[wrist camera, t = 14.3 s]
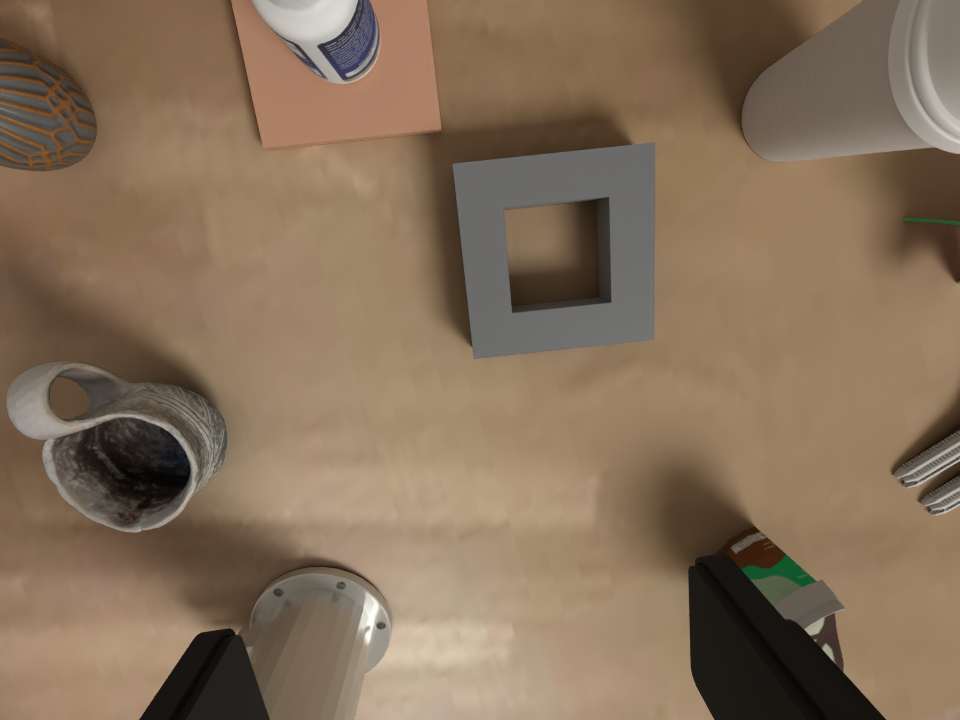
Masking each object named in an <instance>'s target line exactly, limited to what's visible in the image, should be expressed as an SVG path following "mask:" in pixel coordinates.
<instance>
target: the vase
mask: <svg viewBox="0 0 960 720" xmlns="http://www.w3.org/2000/svg"><path fill="white" fill-rule="evenodd" d="M96 133H97V125H96V119H95V115H94V112H93V109H92V107H91V105H90V102H89V100H88V99H87V97H86V95H85V94H84V92H83V91H82V90H81V89H80V87H79V86H78V85H77V84H76V83H75V82H74V81H73V80H72V79H71V78H70V77H69V76H68V75H67V74H66V73H65V72H63V71H62V70H61V69H60V68H59V67H57V66H56V65H55V64H53V63H52V62H50V61H49V60H47V59H46V58H44V57H43V56H41V55H39V54H37V53H35V52H33V51H31V50H29V49H27V48H25V47H23V46H21V45H18V44H16V43H13V42H11V41H8V40H5V39H2V38H0V166H4V167H8V168H14V169H20V170H29V171H50V170H57V169H62V168H65V167H69V166H71V165H73V164H75V163H77V162H79V161H81V160H82V159H83V158H84V157H86V155H87V154H88V153H89V152H90V150H91V148H92V147H93V145H94V142H95V139H96Z"/></svg>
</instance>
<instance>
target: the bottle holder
mask: <svg viewBox="0 0 960 720" xmlns="http://www.w3.org/2000/svg"><path fill="white" fill-rule="evenodd" d="M453 173H454V182H455V191H456V200H457V209H458V219H459V228H460V237H461V246H462V255H463V264H464V273H465V283H466V292H467V301H468V310H469V319H470V328H471V337H472V346H473V356H474V359H478V358H487V357H496V356H506V355H515V354H524V353H534V352H543V351H553V350H562V349H571V348H581V347H590V346H599V345H609V344H618V343H628V342H637V341H646V340H654V232H655V142H654V143H644V144H635V145H625V146H616V147H606V148H597V149H587V150H578V151H568V152H558V153H549V154H539V155H530V156H520V157H511V158H501V159H492V160H482V161H473V162H463V163H454V164H453ZM594 200H596V204H597V239H598V275H599V297H593V298H584V299H574V300H565V301H556V302H546V303H537V304H527V305H518V306H511V295H510V282H509V270H508V258H507V246H506V234H505V222H504V210H509V209H518V208H528V207H537V206H547V205H556V204H566V203H575V202H585V201H594Z"/></svg>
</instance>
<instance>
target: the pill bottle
mask: <svg viewBox="0 0 960 720" xmlns="http://www.w3.org/2000/svg"><path fill="white" fill-rule="evenodd" d="M252 3H253V4H254V6H255V8H256V10H257V11H258V13H259V14H260V16H261V17H262V18H263V20H264V21H265V22H266V23H267V25H268V26H269V27H270V28H271V29H272V30H273V31H274V32H275V33H276V34H277V35H278V36H279V38H280V39H281V40H282V41H283V42H284V43H285V44H286V45H287V46H288V47H289V48H290V49H291V50H292V52H293V53H294V54H295V55H296V56H297V57H298V58H299V59H300V60H301V61H302V62H303V63H304V64H305V65H306V66H307V67H308V68H309V69H310V70H311V71H312V72H313V73H314V74H315V75H317V76H318V77H320V78H321V79H323V80H325V81H328V82H331V83H335V84H348V83H352V82H355V81H358V80H360V79H361V78H363V77H364V76H366V75H367V74H368V73H369V72H370V71H371V69H372V68H373V66H374V65H375V63H376V61H377V59H378V56H379V52H380V46H381V34H380V28H379V24H378V20H377V17H376V14H375V12H374V10H373V7H372V5H371V2H370V0H252Z"/></svg>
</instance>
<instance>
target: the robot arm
mask: <svg viewBox="0 0 960 720" xmlns="http://www.w3.org/2000/svg"><path fill="white" fill-rule="evenodd" d="M688 574H689V615H690V656H691V671H692V675H693V678H694V681H695V684H696V686H697V688H698V690H699V692H700V694H701V696H702V698H703V700H704V701H705V703H706V705H707V707H708V709H709V711H710V712H711V714H712V716H713V718H714V720H886V719H885V718H884V717H883V716H882V715H881V714H880V712H879V711H878V710H877V709H876V708H875V707H874V706H873V705H872V704H871V702H870V701H869V700H868V699H867V698H866V697H865V696H864V695H863V694H862V693H861V691H860V690H859V689H858V688H857V687H856V686H855V685H854V684H853V683H852V681H851V680H850V679H849V678H848V677H847V676H846V675H845V674H844V673H843V672H842V670H841V669H840V668H839V667H838V666H837V665H836V664H835V663H834V662H833V661H832V659H831V658H830V657H829V656H828V655H827V654H826V653H825V652H824V651H823V649H822V648H821V647H820V646H819V645H818V644H817V643H816V642H815V641H814V640H813V638H812V637H811V636H810V635H809V634H808V633H807V632H806V631H805V630H804V629H803V628H802V627H801V626H800V625H799V624H798V623H797V622H795V621H793V620H791V619H784V618H783V616H782V615H781V614H780V613H779V612H778V611H777V610H776V608H775V607H774V606H773V605H772V604H771V603H770V602H769V600H768V599H767V598H766V597H765V596H764V595H763V594H762V593H761V591H760V590H759V589H758V588H757V587H756V586H755V585H754V583H753V582H752V581H751V580H750V579H749V578H748V577H747V575H746V574H745V573H744V572H743V571H742V570H741V569H740V567H739V566H738V565H737V564H736V563H735V562H734V561H733V560H732V558H731V557H729V556H728V555H727V554H725V553H723V554H717V555H710V556H704V557H698V558H697V559H696V561H695V566H690V567H689V572H688ZM391 631H392V619H391V613H390V611H389V608H388V605H387V603H386V602H385V600H384V598H383V597H382V595H381V594H380V593H379V592H378V591H377V590H376V589H375V588H374V587H373V586H372V585H371V584H369V583H368V582H367V581H365V580H364V579H362V578H360V577H358V576H356V575H354V574H352V573H350V572H347V571H343V570H340V569H336V568H328V567H308V568H303V569H298V570H294V571H292V572H289V573H286V574H284V575H282V576H281V577H279V578H277V579H276V580H274V581H273V582H272V583H271V584H270V585H269V586H267V587H266V588H265V590H264V591H263V592H262V594H261V595H260V597H259V598H258V600H257V602H256V604H255V606H254V608H253V610H252V614H251V618H250V628H244V629H242V630H240V632H239V633H238V634H237V635H236V634H235V632H234V631H233V630H232V629H222V630H215V631H209V632H202V633H200V634H198V635H197V636H196V637H195V638H194V640H193V641H192V642H191V644H190V645H189V647H188V648H187V650H186V651H185V653H184V654H183V656H182V657H181V659H180V660H179V662H178V663H177V665H176V666H175V668H174V669H173V670H172V672H171V673H170V675H169V676H168V678H167V679H166V681H165V682H164V684H163V685H162V687H161V688H160V690H159V691H158V693H157V694H156V696H155V697H154V699H153V700H152V702H151V703H150V705H149V706H148V707H147V709H146V710H145V712H144V713H143V715H142V716H141V718H140V719H139V720H354V719H355V715H356V710H357V706H358V701H359V697H360V693H361V688H362V684H363V679H364V675H365V673H367V672H369V671H370V670H371V669H372V668H373V667H375V666H376V665H377V664H378V663H379V661H380V660H381V659H382V658H383V656H384V655H385V652H386V650H387V648H388V646H389V641H390V637H391Z"/></svg>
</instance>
